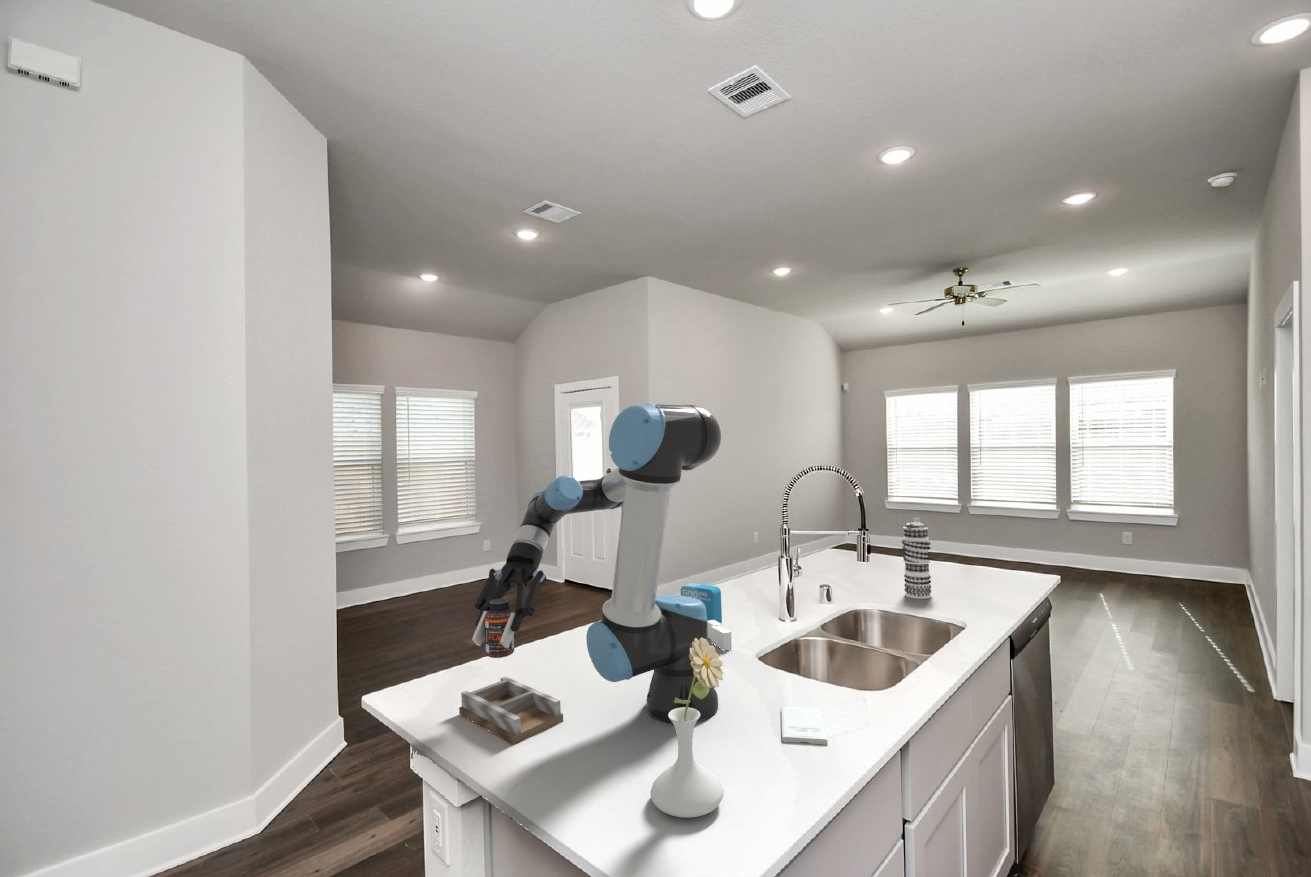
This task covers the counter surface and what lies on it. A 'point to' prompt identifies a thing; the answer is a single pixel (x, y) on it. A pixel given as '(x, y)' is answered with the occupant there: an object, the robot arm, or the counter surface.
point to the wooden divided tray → (511, 710)
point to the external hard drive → (803, 725)
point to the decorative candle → (916, 561)
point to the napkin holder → (719, 635)
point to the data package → (706, 598)
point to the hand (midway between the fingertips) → (490, 643)
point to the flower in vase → (690, 747)
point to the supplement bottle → (497, 628)
